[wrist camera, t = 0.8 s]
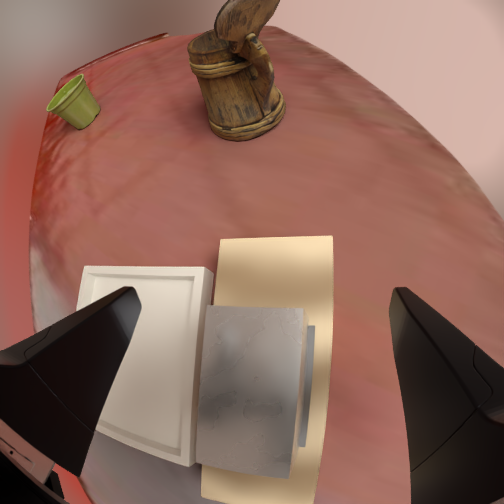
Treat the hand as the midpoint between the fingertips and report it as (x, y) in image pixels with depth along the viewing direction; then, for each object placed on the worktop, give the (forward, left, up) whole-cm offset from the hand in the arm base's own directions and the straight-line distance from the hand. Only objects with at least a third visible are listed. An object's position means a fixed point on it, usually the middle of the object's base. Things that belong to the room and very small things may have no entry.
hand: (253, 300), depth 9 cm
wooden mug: (+22, +4, -13) cm, 26 cm away
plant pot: (+35, +39, -13) cm, 54 cm away
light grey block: (-4, +1, -9) cm, 10 cm away
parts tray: (-4, +15, -13) cm, 20 cm away
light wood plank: (-4, +1, -13) cm, 14 cm away
